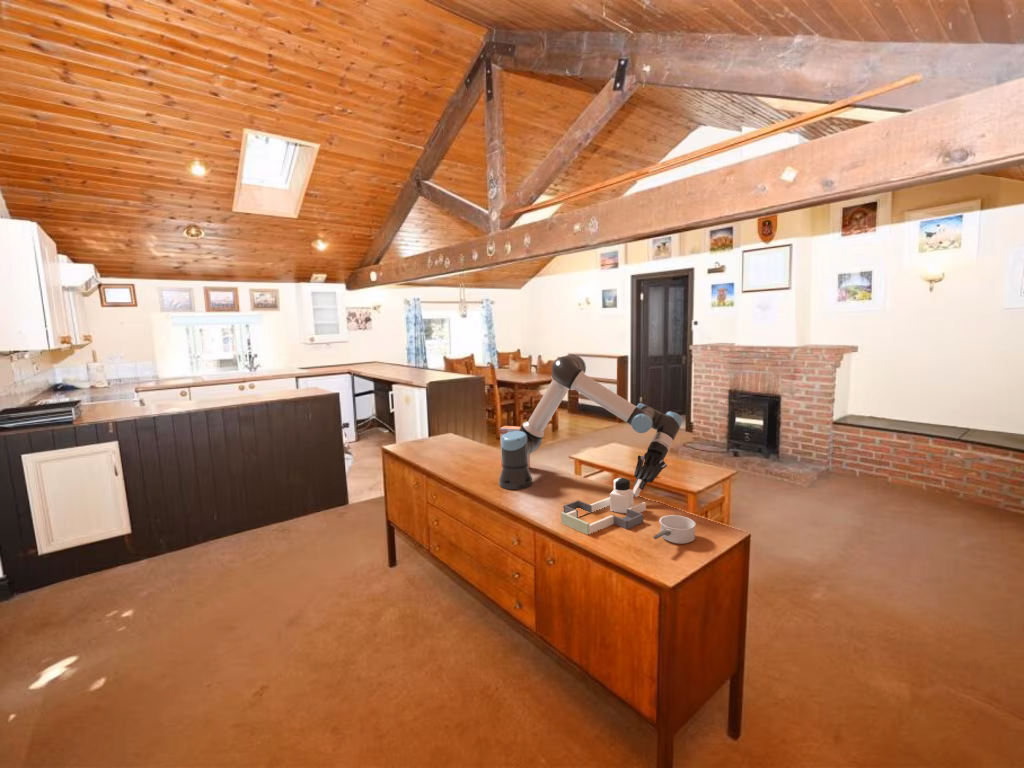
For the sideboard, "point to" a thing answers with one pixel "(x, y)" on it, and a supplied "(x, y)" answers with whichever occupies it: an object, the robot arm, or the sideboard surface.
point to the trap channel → (626, 522)
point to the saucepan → (677, 529)
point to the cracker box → (505, 430)
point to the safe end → (575, 523)
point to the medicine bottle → (621, 496)
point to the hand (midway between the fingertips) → (634, 494)
